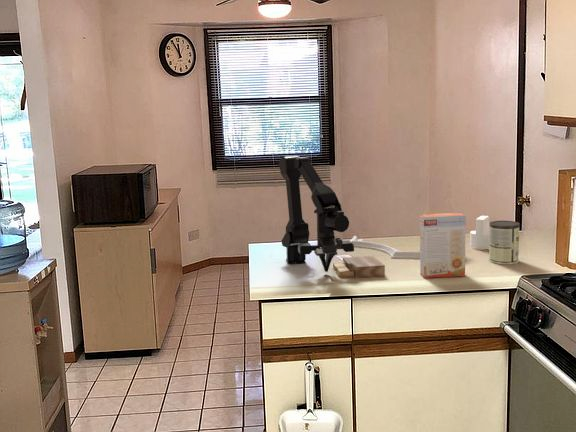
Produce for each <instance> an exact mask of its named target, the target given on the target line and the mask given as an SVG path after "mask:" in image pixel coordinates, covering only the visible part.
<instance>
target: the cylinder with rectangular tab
mask: <svg viewBox="0 0 576 432" xmlns="http://www.w3.org/2000/svg"><path fill="white" fill-rule="evenodd" d="M469 233H470V234H469V236H470V237H469V238H470V239H469V248H470V249H473V248H474V250H480V249H488V250H489V244H490V215H480V216H478V217H477V218H475V230H471V231H470V232H469Z"/></svg>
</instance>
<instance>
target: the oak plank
mask: <svg viewBox="0 0 576 432" xmlns="http://www.w3.org/2000/svg"><path fill="white" fill-rule="evenodd" d="M332 269H333V270H334V272H335V271H336V272H335V273H336V275H338V278H350V277H353V278H354V277H355V276H354V270H351V269H350V268H349V267H348V266H347V265H346V263H345V262H344V261H343V262H333V263H332Z"/></svg>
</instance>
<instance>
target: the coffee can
mask: <svg viewBox="0 0 576 432" xmlns="http://www.w3.org/2000/svg"><path fill="white" fill-rule="evenodd" d="M520 226H521V224H520V222H518V221H512V220H493V221H489V231H490V244H489V249H488V250H489V253H488V254H489V256H488V261H489V262H490V263H493V264H495V265H496V264H497V265H515V264H518V263H519V261H520V260H519V251H520Z"/></svg>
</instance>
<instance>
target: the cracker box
mask: <svg viewBox="0 0 576 432" xmlns="http://www.w3.org/2000/svg"><path fill="white" fill-rule="evenodd" d="M466 217H467V216H466V214H463V213H462V212H450V213H448V212H447V213H445V212H444V213H427V214H425V213H424V214H420V215H419V223H420V224H419V234H420V235H419V243H420V245H419V248H420V249H419V250H420V251H419V252H420V259H419V261H420V263H419V264H420V265H419V268H420V269H419V270H420V272H419V273H420V275H421V276H422V277H423V278H424V279H428V278H430V279H431V278H432V279H433V278H449V277H450V278H451V277H465V276H466V232H467V231H466V225H467V224H466V221H467V220H466V219H467V218H466Z"/></svg>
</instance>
